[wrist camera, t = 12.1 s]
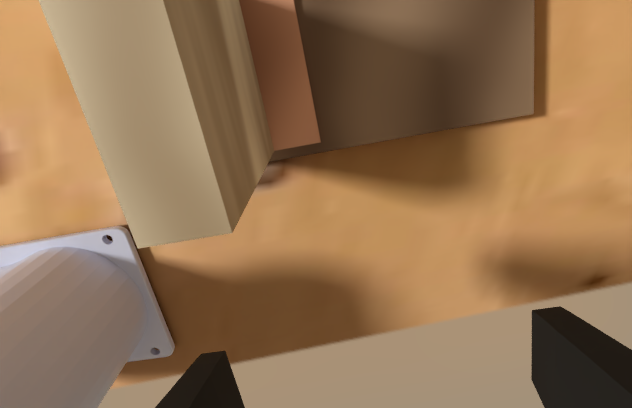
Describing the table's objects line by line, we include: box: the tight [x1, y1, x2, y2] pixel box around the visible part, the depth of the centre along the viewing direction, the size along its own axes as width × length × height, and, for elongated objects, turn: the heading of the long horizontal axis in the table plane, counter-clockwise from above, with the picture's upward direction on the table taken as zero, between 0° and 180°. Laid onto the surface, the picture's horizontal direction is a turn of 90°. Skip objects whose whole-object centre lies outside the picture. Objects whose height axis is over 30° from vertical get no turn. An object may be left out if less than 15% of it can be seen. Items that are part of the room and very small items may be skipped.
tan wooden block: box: [39, 0, 274, 249], centre depth 12 cm, size 2×6×8 cm, turn 11°
